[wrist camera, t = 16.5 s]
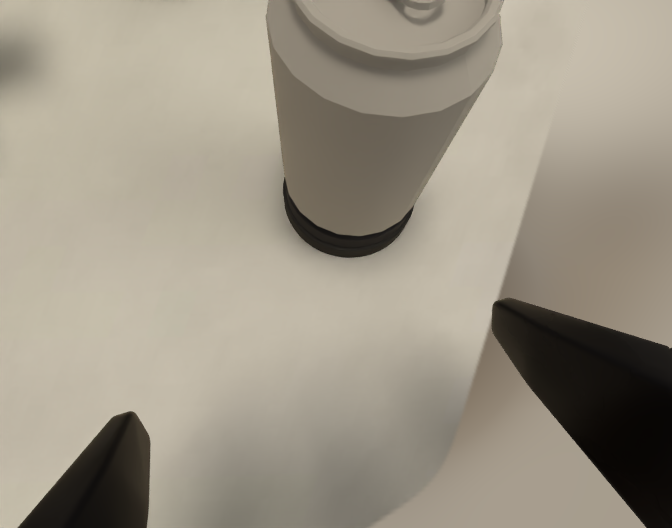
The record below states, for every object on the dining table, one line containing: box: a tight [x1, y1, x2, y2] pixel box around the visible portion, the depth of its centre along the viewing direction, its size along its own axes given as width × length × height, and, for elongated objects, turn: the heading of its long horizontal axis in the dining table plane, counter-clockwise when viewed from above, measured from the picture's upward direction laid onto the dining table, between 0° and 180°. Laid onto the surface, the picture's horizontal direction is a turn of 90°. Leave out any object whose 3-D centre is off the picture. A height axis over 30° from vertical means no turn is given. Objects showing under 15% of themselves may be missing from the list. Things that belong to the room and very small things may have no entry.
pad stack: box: [283, 177, 414, 257], centre depth 23 cm, size 8×8×2 cm
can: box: [266, 0, 504, 236], centre depth 16 cm, size 8×8×12 cm
